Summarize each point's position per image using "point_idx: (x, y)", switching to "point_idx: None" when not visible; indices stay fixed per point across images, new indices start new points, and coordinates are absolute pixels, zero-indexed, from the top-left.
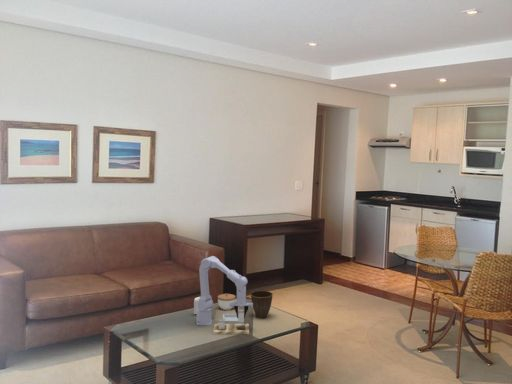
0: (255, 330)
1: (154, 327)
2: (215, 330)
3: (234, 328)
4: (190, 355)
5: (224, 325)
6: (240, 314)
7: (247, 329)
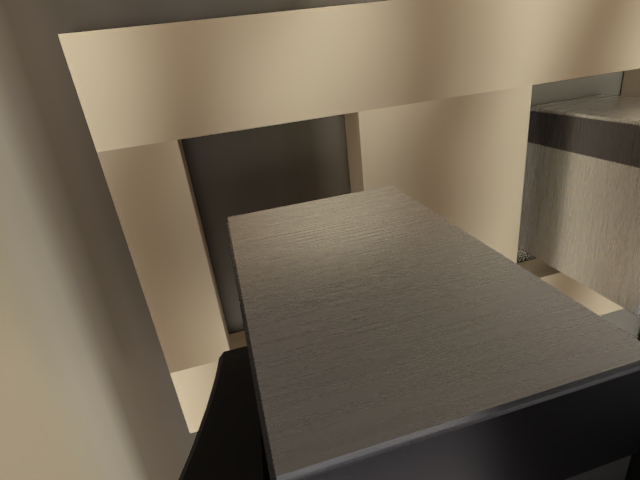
0: (5, 263)
1: None
2: None
3: (397, 184)
4: None
5: (616, 119)
6: (450, 312)
7: (141, 177)
